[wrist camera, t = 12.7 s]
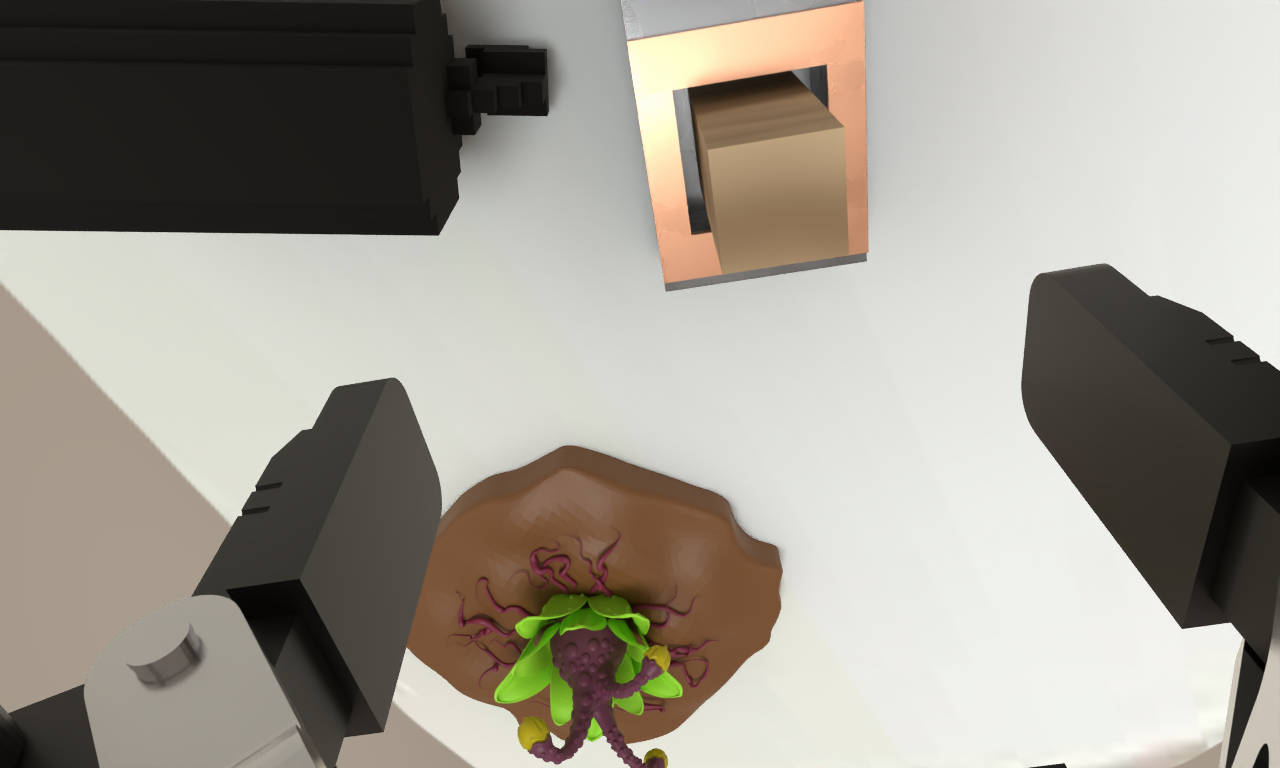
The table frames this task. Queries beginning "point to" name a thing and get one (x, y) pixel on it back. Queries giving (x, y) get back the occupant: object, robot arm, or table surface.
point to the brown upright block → (770, 172)
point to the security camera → (244, 114)
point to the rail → (728, 50)
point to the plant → (593, 601)
